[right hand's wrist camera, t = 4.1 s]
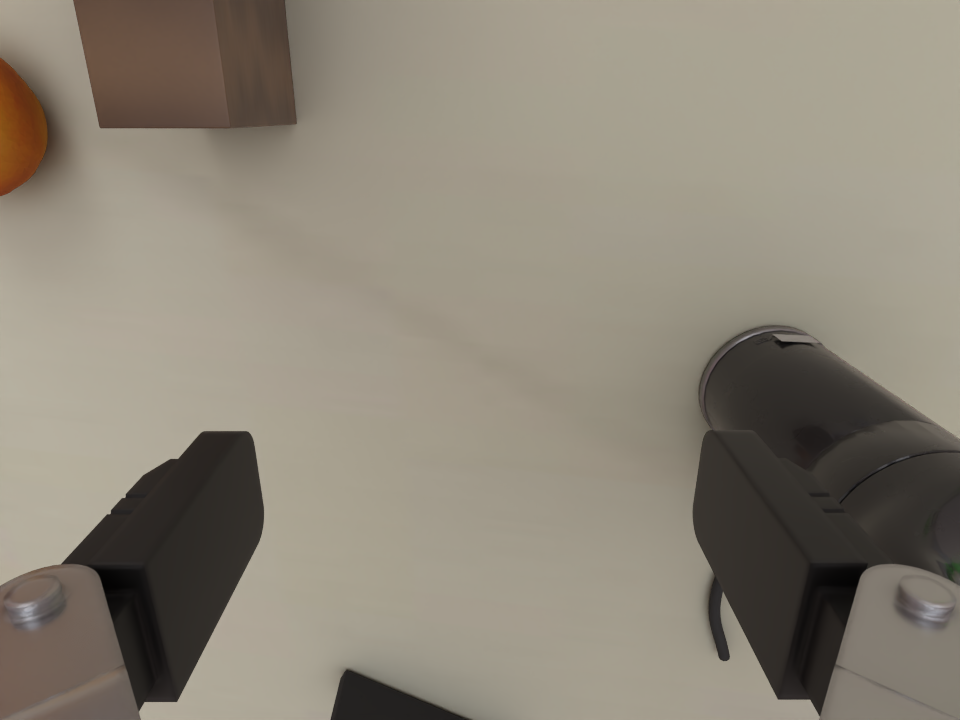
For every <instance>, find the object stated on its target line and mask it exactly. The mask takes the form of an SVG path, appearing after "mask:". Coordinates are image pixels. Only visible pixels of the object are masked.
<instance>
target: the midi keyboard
mask: <svg viewBox="0 0 960 720" xmlns="http://www.w3.org/2000/svg"><path fill="white" fill-rule="evenodd" d="M331 720H466V719H463V718H461V717H458V716H456V715H454V714H451V713H449V712H446V711H444V710H442V709H439V708H437V707H434V706H432V705H430V704H427V703H425V702H422V701H420V700H418V699H415V698H413V697H410V696H408V695H405V694H403V693H401V692H398V691H396V690H393V689H391V688H389V687H386V686H384V685H381V684H379V683H377V682H374V681H372V680H369V679H367V678H365V677H362V676H360V675H357V674H355V673H353V672H350V671H348V670H346V671H345V673H344V674H343V676H342V677H341V679H340V683H339V687H338V692H337V696H336V700H335V704H334V708H333V712H332V716H331Z"/></svg>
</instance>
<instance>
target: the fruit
mask: <svg viewBox="0 0 960 720" xmlns="http://www.w3.org/2000/svg"><path fill="white" fill-rule="evenodd" d="M47 139H48V137H47V123H46V119H45V115H44V111H43V109H42V107H41V105H40V102H39V101H38V99H37V97H36V96H35V94H34V93H33V92H32V91H31V89H30V88H29V87H28V86H27V84H26V83H25V82H24V81H23V80H22V78H21V77H20V76H19V75H18V74H17V73H16V71H15V70H14V69H13V68H12V67H11V66H10V65H8V64H7V63H6V62H5V61H4V60H3V59H1V58H0V196H2V195H5V194H7V193H9V192H11V191H12V190H14V189H15V188H17V187H18V186H20V185H22V184H23V183H25V182H26V181H27V180H28V179H29V178H30V177H31V176H32V175H33V174H34V173H35V171H36V169H37V168H38V166H39V164H40V162H41V160H42V159H43V156H44V154H45V151H46V147H47Z"/></svg>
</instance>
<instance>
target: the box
mask: <svg viewBox="0 0 960 720" xmlns="http://www.w3.org/2000/svg"><path fill="white" fill-rule="evenodd" d="M73 1H74V6H75V10H76V15H77V20H78V25H79V30H80V34H81V39H82V44H83V49H84V54H85V59H86V63H87V68H88V73H89V78H90V83H91V87H92V92H93V97H94V102H95V107H96V111H97V116H98V121H99V126H100V128H242V127H257V126H273V125H288V124H296V123H297V122H296V112H295V102H294V92H293V82H292V72H291V62H290V52H289V42H288V32H287V22H286V12H285V2H284V0H73Z"/></svg>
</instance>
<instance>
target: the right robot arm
mask: <svg viewBox="0 0 960 720" xmlns="http://www.w3.org/2000/svg"><path fill="white" fill-rule="evenodd" d="M699 400H700V407H701V410H702V413H703V416H704V418H705V419H706V421H707V423H708V424H709V426H710V427H711V428H712V430H709V431H708V432H707V433H706V434H705V436H704V439H703V443H702V449H701V455H700V462H699V469H698V476H697V482H696V489H695V496H694V503H693V524H694V530H695V534H696V537H697V540H698V543H699V545H700V547H701V549H702V551H703V552H704V554H705V556H706V558H707V560H708V562H709V564H710V566H711V568H712V570H713V572H714V574H715V579H714V582H713V585H712V589H711V594H710V600H709V620H710V626H711V630H712V633H713V637H714V640H715V643H716V647H717V651H718V656H719V658H720V660H722V661H727V660H729V658H730V655H729V650H728V646H727V642H726V639H725V635H724V632H723V628H722V624H721V617H720V605H721V598H722V593H723V592H724V594H725V596H726V598H727V600H728V602H729V604H730V606H731V608H732V610H733V612H734V614H735V616H736V618H737V619H738V621H739V623H740V625H741V627H742V629H743V631H744V633H745V635H746V637H747V639H748V641H749V643H750V645H751V647H752V649H753V651H754V653H755V655H756V657H757V659H758V661H759V663H760V665H761V667H762V669H763V671H764V673H765V675H766V677H767V679H768V681H769V683H770V685H771V687H772V688H773V690H774V692H775V694H776V696H777V698H778V699H810V700H811V702H812V703H813V705H814V707H815V709H816V710H817V712H818V714H819V716H820V719H819V720H960V439H959V438H957V437H956V436H954V435H953V434H952V433H950V432H949V431H947V430H945V429H944V428H942V427H941V426H939V425H938V424H937V423H935V422H934V421H932V420H931V419H929V418H928V417H926V416H925V415H923V414H922V413H920V412H919V411H917V410H916V409H915V408H913V407H912V406H910V405H909V404H907V403H906V402H904V401H903V400H901V399H900V398H898V397H897V396H896V395H894V394H893V393H891V392H890V391H888V390H887V389H885V388H884V387H882V386H881V385H879V384H878V383H876V382H875V381H874V380H872V379H871V378H869V377H868V376H866V375H865V374H863V373H862V372H860V371H859V370H857V369H856V368H854V367H853V366H852V365H850V364H849V363H847V362H846V361H844V360H843V359H841V358H840V357H838V356H837V355H835V354H834V353H832V352H831V351H829V350H828V349H827V348H825V347H824V346H823V345H822V344H821V343H820V342H819V341H818V340H816V339H815V338H813V337H812V336H810V335H809V334H807V333H805V332H803V331H801V330H798V329H796V328H792V327H786V326H767V327H761V328H756V329H753V330H750V331H748V332H745V333H743V334H741V335H739V336H737V337H735V338H734V339H732V340H731V341H729V342H728V343H727V344H725V345H724V346H723V347H722V348H721V349H720V350H719V351H718V352H717V353H716V354H715V356H714V357H713V358H712V359H711V361H710V362H709V364H708V366H707V368H706V369H705V372H704V374H703V377H702V380H701V384H700V391H699ZM263 523H264V506H263V499H262V492H261V486H260V479H259V472H258V466H257V459H256V452H255V446H254V441H253V438H252V436H251V434H250V433H249V432H247V431H204V432H202V433H201V434H200V435H199V436H198V437H197V438H196V439H195V440H194V441H193V443H192V444H191V445H190V446H189V447H188V448H187V449H186V451H185V452H184V453H183V454H182V455H181V456H180V458H179V459H170V460H168V461H167V462H165V463H163V464H162V465H160V466H158V467H156V468H155V469H153V470H151V471H150V472H148V473H146V474H145V475H143V476H142V477H141V478H140V480H139V481H138V482H137V483H136V484H135V485H134V486H133V487H132V488H131V489H130V490H129V491H128V493H127V494H126V498H122V499H121V500H120V501H119V502H118V503H117V504H116V505H115V507H114V508H113V509H112V510H111V514H107V515H106V516H105V517H104V518H103V520H102V521H101V522H100V523H99V524H98V525H97V526H96V527H95V528H94V529H93V530H92V531H91V532H90V534H89V535H88V536H87V537H86V538H85V539H84V540H83V541H82V542H81V543H80V544H79V545H78V546H77V548H76V549H75V550H74V551H73V552H72V553H71V554H70V555H69V556H68V557H67V558H66V559H65V561H64V562H63V563H62V564H61V565H53V566H49V567H44V568H40V569H37V570H34V571H31V572H28V573H26V574H23V575H20V576H18V577H16V578H14V579H12V580H10V581H8V582H6V583H5V584H3V585H1V586H0V720H141V719H140V715H139V711H140V709H141V707H142V705H143V704H144V702H177V701H178V699H179V697H180V695H181V693H182V691H183V689H184V687H185V685H186V683H187V681H188V680H189V678H190V676H191V674H192V672H193V670H194V668H195V666H196V664H197V662H198V660H199V658H200V656H201V654H202V652H203V650H204V648H205V646H206V644H207V643H208V641H209V639H210V637H211V635H212V633H213V631H214V629H215V627H216V625H217V623H218V621H219V619H220V617H221V615H222V613H223V611H224V609H225V607H226V606H227V604H228V602H229V600H230V598H231V596H232V594H233V592H234V590H235V588H236V586H237V584H238V582H239V580H240V578H241V576H242V574H243V572H244V570H245V569H246V567H247V565H248V563H249V561H250V559H251V557H252V555H253V553H254V551H255V549H256V547H257V545H258V543H259V541H260V538H261V534H262V530H263Z"/></svg>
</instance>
